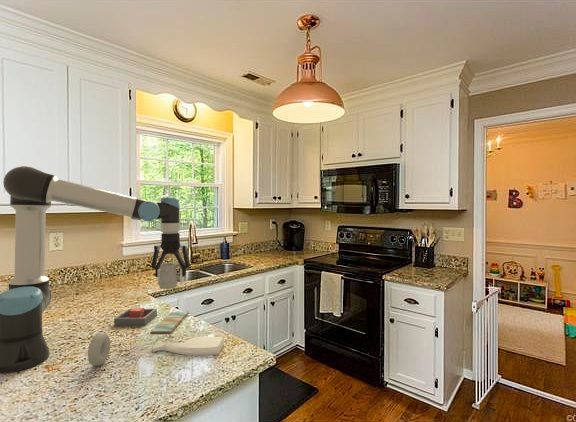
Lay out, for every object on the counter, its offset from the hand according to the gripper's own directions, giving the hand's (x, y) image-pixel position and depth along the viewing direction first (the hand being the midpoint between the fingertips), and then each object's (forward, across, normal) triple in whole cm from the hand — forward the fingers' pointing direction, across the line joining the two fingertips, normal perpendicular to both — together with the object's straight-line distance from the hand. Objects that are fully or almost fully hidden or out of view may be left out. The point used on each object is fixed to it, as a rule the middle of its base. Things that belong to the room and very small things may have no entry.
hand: (170, 283), depth 140 cm
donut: (+17, +10, +37) cm, 42 cm away
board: (+17, 0, 0) cm, 17 cm away
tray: (+17, +16, -3) cm, 24 cm away
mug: (+1, -1, 0) cm, 2 cm away
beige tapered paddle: (+18, -15, +26) cm, 35 cm away
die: (+16, +16, -2) cm, 23 cm away
